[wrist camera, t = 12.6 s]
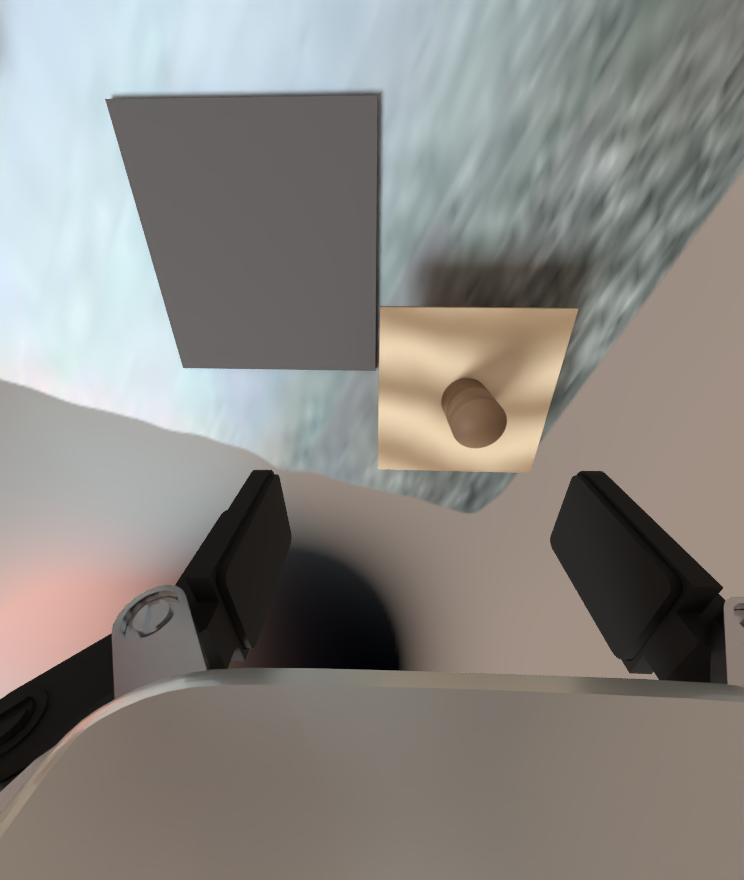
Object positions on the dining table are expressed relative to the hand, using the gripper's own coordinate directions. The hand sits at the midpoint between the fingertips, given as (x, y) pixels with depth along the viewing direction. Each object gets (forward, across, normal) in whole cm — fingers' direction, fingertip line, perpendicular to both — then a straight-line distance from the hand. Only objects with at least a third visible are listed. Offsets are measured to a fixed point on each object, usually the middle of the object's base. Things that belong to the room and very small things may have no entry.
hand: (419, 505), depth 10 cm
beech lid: (+19, -6, +4) cm, 20 cm away
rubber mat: (+24, +12, -8) cm, 28 cm away
